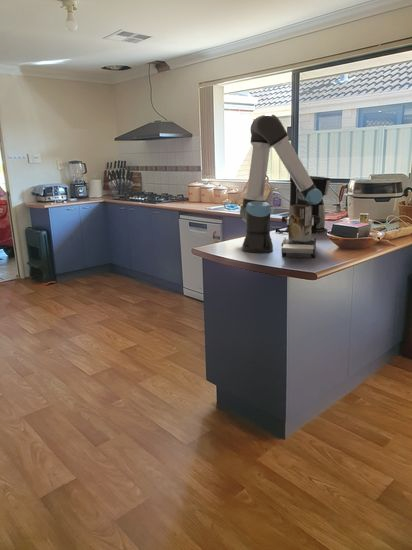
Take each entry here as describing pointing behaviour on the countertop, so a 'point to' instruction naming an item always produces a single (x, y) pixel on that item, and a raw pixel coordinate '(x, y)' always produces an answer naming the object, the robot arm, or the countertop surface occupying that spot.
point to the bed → (303, 255)
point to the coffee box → (300, 222)
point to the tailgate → (297, 248)
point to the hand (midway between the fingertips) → (300, 222)
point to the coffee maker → (318, 209)
